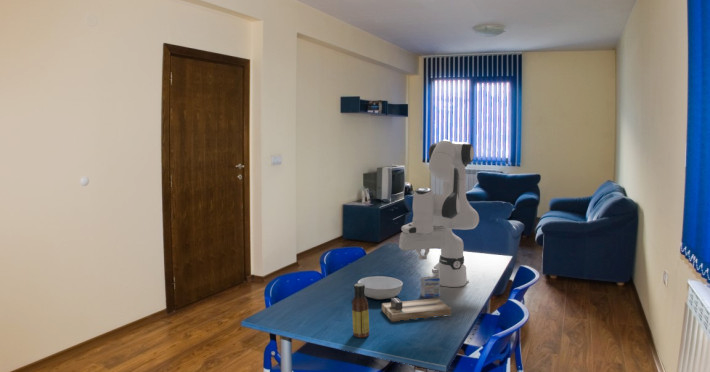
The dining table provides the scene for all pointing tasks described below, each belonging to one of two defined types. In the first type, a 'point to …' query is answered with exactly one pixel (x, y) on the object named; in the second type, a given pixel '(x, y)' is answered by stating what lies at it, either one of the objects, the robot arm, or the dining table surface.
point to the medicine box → (430, 286)
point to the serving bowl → (381, 287)
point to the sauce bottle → (360, 312)
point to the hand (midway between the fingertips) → (422, 259)
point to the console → (416, 309)
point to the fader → (396, 303)
